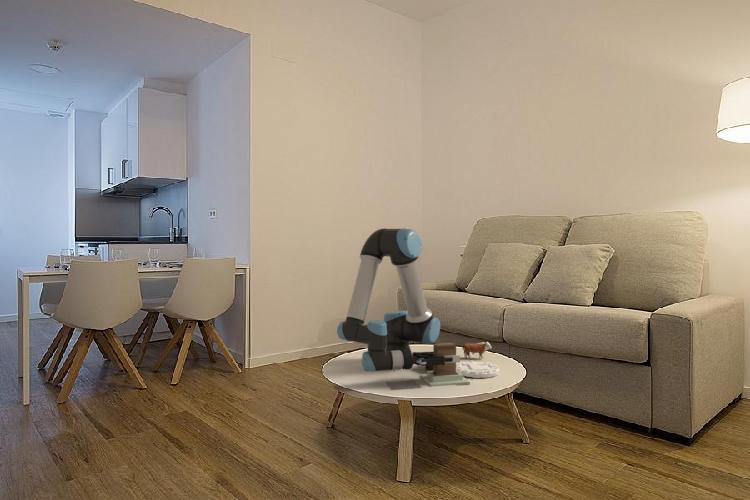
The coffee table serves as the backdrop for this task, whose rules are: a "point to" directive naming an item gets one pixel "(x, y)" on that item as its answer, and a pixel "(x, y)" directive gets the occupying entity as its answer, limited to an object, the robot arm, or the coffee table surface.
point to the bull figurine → (475, 349)
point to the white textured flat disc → (477, 369)
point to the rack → (444, 379)
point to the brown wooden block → (442, 351)
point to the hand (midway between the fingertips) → (457, 356)
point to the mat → (403, 385)
